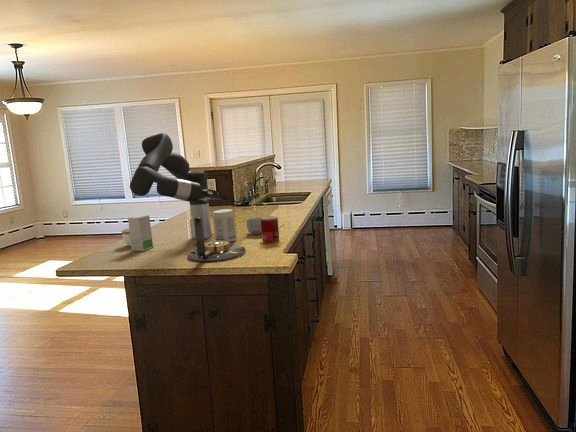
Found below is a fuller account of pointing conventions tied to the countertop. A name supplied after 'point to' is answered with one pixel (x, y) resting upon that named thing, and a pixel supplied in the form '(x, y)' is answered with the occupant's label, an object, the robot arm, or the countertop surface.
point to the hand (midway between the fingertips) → (223, 199)
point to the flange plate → (220, 256)
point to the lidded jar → (126, 236)
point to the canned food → (270, 229)
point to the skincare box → (140, 232)
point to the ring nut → (206, 248)
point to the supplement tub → (224, 225)
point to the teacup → (254, 225)
